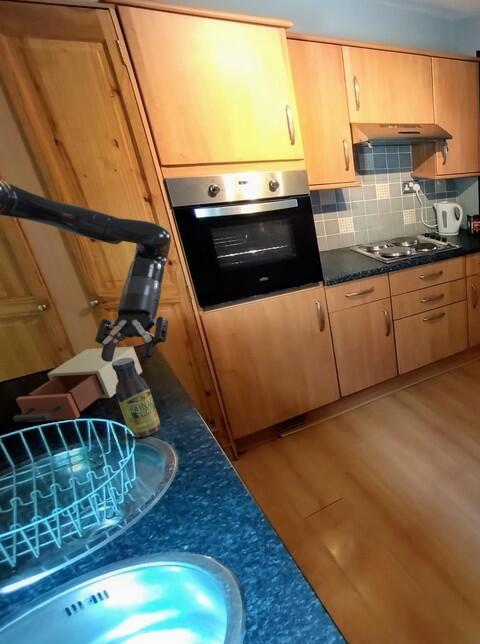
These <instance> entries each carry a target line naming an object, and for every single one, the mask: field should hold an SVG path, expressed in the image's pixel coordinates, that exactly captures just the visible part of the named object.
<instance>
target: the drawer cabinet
mask: <svg viewBox="0 0 480 644" xmlns="http://www.w3.org/2000/svg"><path fill="white" fill-rule="evenodd" d="M102 350H103V347H101V348H86V349H85V350H83V351H81V352H80V353H78V354H76V355H75V356H73V357H72V358H70V359H69V360H67V361H65V362H63V363H62V364H61V365H59V366H58V367H56V368H54V369H52V370H51V371H49V372H48V373H46V374H47V376H48V379H49V381H50V380H51V379H53V378H54V377H56V376H67V375H85V374H97V376H98V379H99V381H100V383H101V386H102V388H103V390H104V394H103V395H102V396H100V397H99V398H98V399H97V400H100V399H111V398H112V397H113V396H114V395H117V394H116V391H115V390H116V385H117V383H118V379H117V375H116V372H115V370H114V369H113V367H112V363H113V362H114V361H116V360H119V359H123V358H133V360H134V362H135V368H136V371H137V373H138V375H139V376H140V374H142V373H143V369H142V366H141V364H140V360H139V359H138V356H137V353H136V351H135V348H134V346H121V347H120V346H119V347H115V351H114V355H113V360H112V361H111V362H107V361H104V360H103V359H102V358H101V354H102Z"/></svg>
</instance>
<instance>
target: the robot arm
mask: <svg viewBox="0 0 480 644" xmlns="http://www.w3.org/2000/svg"><path fill="white" fill-rule="evenodd" d="M0 216H3V217H8V218H16V219H21V220H27V221H32V222H34V223H35V222H36V223H38V224H39V223H40V224H43V225H47V226H50V227H53V228H56V229H58V230H59V229H60V230H61V231H65V232H68V233H71V234H74V235H76V236H77V235H78V236H80V237H83V238H88V239H91V240H94V241H98V242H102V243H107V244H111V245H120V244H121V243H123V242H124V243H125V242H126V243H131V244H136V245H135V252H134V256H133V260H132V261H131V263H130V265H129V268H128V272H127V276H126V280H125V282H124V284H123V287H122V291H121V295H120V298H119V303H118V307H117V318H115V320H109V319H106V318H103V319H101V321H100V323H99V327H98V330H97V333H96V336H95V339H94V341H95V342H96V343H98V344H100V345H102V348H103V350H102V354H101V358H102V359H103V360H104V361H107V362H111V361H112V360H113V355H114V351H115V348H116V346H117V345H118V344H119V343H120V342H122V341H123V342H124V340H126V338H128V339H129V338H134V337H136V338H143V340H144V341H145V342H144V344H143V347H142V353H141V359H143V360H145V361H150V360H151V359H152V358H153V357H154V354H155V349H156V346H157V345H158V344H159V343H160V344H161V343H165V342H166V341H167V335H168V328H169V320H168V319H166V318H165V317H162V316H157V314H158V310H159V309H158V308H159V304H160V299H161V295H162V284H163V279H164V275H165V266H166V263H167V260H168V257H169V253H170V250H171V249H170V247H171V241H172V236H171V233H170V232H169V230H167V229H166V228H165V227H163V226H161V225H160V224H158V223H155V222H151V221H146V220H138V219H131V218H121V217H118V216H115V215H112V214H108V213H104V212H101V211H98V210H95V209H91V208H87V207H83V206H79V205H75V204H70V203H67V202H62V201H59V200H54V199H51V198H47V197H44V196H41V195H37V194H35V193H32V192H30V191H27V190H25V189H23V188H20V187H18V186H16V185H13V184H12V183H9V182H6V181H5V180H3V179H2V178H0ZM156 317H157V318H156ZM154 326H155V331H154V333H153V332H152V331H151V329H152V328H153V327H154Z"/></svg>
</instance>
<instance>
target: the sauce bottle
mask: <svg viewBox="0 0 480 644" xmlns="http://www.w3.org/2000/svg"><path fill="white" fill-rule="evenodd" d="M112 367H113V369H114V370H115V372H116V375H117V379H118V383H117V385H116V390H115V391H116V394H115V395H116V397H117V402H118V405H119V407H120V410H121V414H122V416H123V419H124V422H125V424H126V427H127V429H128V428H129V429H130V430H132V431H133V433H134V434H135V436H136V438H135V439H140V438H139V437H142V438H146V437H149V436H151V435H154V434H156V433H157V432H158V431H159V430H160V429H161V424H160V423H161V421H160V418H159V414H158V411H157V409H156V405H155V402H154V399H153V396H152V392H151V390H150V387H149V386H148V384H147V383H146V381H145V379H144V378H142V377H141V376H140V374H139V375H138V373H137V371H136V368H135V362H134V360H133V358H123V359H119V360H116V361H114V362H113V363H112Z"/></svg>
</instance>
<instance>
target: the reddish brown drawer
mask: <svg viewBox="0 0 480 644" xmlns="http://www.w3.org/2000/svg"><path fill="white" fill-rule="evenodd" d="M103 394H104V390H103V388H102V386H101V383H100V381H99V379H98V376H97V374H85V375H67V376H56V377H54V378H53V379H51V380H50V379H49V380H48V381H46V382H45V383H43V384H42V385H40V386H39V387H37V388H35V389H34V390H33V391H31V392H29V393H28V396H18V397H17V398H16V399H15V402H16V403H17V405H18V407H19V409H20V410H21V414H16V415H14V416H13V418H12V420H13V422H15V423H20V422H27V423H32V422H47V421H61V420H63V421H64V420H76V419H78V418H80V417H81V414H80V413H82V412H83V411H84V410H85V409H86V408H88V407H89V406H90V405H92V404H93V403H94V402H95V401H97V400H99V399H98V398H99V397H100V396H102V395H103Z"/></svg>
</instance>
